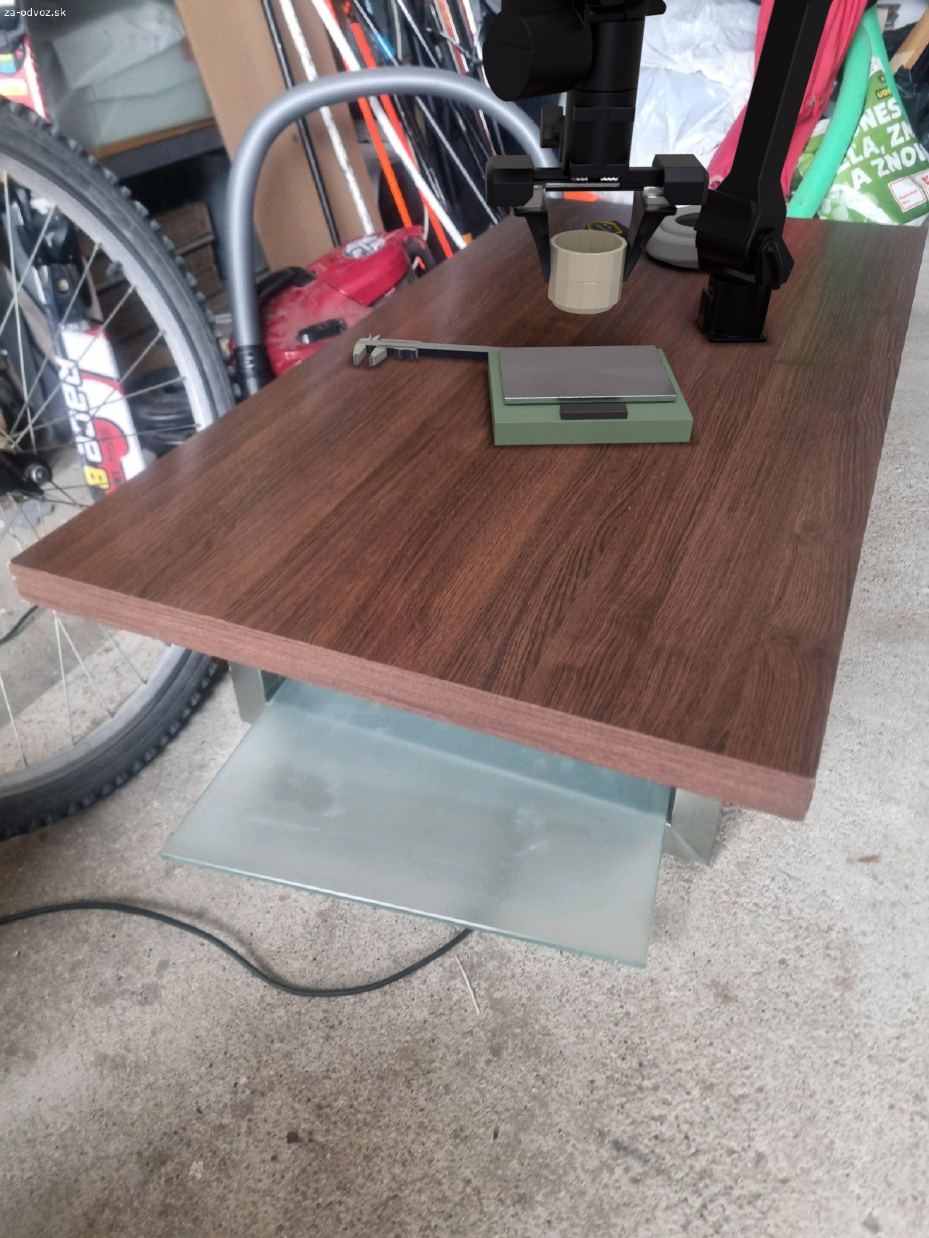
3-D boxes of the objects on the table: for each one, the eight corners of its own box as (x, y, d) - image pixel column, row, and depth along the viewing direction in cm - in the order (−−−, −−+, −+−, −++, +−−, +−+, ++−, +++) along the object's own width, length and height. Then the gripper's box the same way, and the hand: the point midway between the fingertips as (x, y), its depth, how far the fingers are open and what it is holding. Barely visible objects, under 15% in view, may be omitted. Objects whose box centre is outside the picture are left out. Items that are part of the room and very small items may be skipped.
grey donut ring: (669, 241, 125) (628, 272, 115) (673, 192, 121) (630, 220, 111) (788, 252, 117) (754, 287, 108) (796, 200, 113) (762, 231, 104)
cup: (614, 288, 84) (620, 229, 80) (624, 316, 79) (631, 254, 75) (544, 289, 84) (547, 229, 80) (550, 316, 79) (553, 254, 75)
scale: (658, 370, 91) (663, 341, 89) (689, 442, 80) (695, 411, 77) (487, 373, 91) (488, 344, 89) (494, 446, 79) (495, 414, 77)
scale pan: (654, 350, 88) (655, 345, 88) (676, 401, 80) (677, 395, 80) (498, 353, 88) (498, 347, 88) (504, 404, 80) (504, 398, 80)
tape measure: (640, 261, 115) (643, 232, 113) (593, 267, 114) (595, 237, 111) (617, 245, 120) (620, 217, 118) (572, 250, 119) (574, 222, 116)
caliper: (352, 358, 91) (356, 333, 96) (353, 367, 92) (357, 342, 97) (544, 354, 92) (539, 329, 96) (544, 364, 92) (538, 339, 97)
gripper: (696, 67, 76) (669, 250, 86) (484, 69, 76) (483, 252, 86) (726, 93, 68) (692, 292, 78) (488, 94, 68) (485, 294, 78)
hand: (585, 280), depth 80 cm, fingers closed on cup, 7 cm apart
